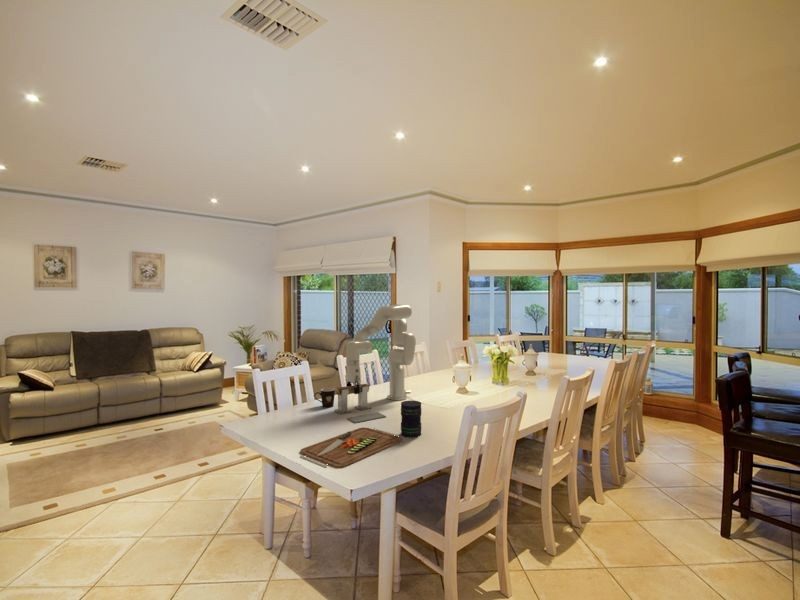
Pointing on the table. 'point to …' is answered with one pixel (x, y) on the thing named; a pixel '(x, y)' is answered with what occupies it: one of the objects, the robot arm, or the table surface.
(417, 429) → the storage jar
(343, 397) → the post near
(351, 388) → the bread baguette
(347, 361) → the robot arm
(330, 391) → the coffee mug
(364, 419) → the mat
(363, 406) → the post far
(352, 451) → the chopping board
